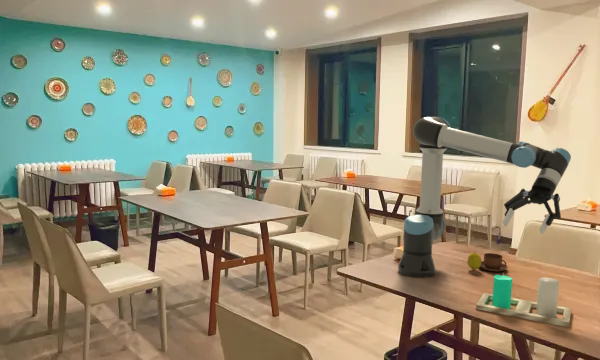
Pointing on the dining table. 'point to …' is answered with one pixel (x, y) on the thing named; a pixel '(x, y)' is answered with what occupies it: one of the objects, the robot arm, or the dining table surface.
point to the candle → (502, 291)
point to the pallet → (524, 310)
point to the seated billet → (547, 297)
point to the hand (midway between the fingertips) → (522, 227)
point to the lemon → (474, 261)
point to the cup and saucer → (493, 262)
